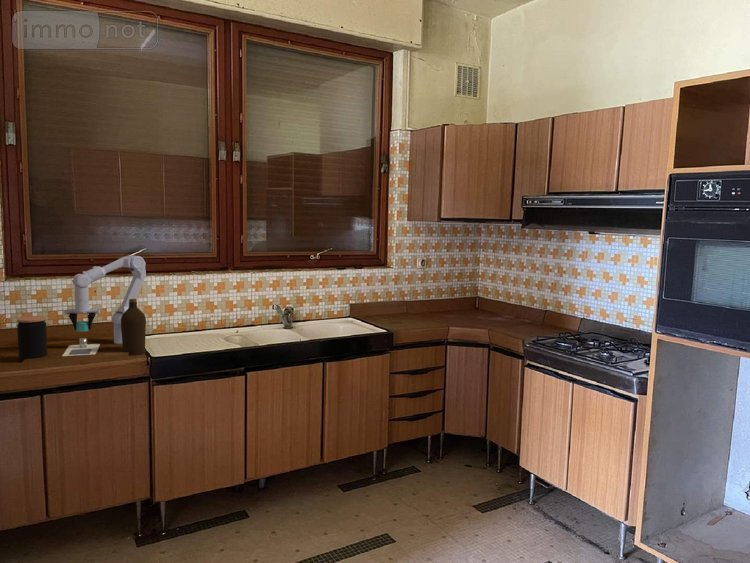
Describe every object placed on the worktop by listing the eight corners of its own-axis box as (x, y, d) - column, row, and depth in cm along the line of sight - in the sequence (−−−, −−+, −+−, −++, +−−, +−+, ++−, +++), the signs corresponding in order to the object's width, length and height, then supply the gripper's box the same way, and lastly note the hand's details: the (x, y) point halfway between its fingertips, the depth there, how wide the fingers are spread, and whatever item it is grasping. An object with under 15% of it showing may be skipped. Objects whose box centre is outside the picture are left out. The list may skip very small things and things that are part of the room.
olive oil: (133, 356, 250) (132, 301, 247) (116, 354, 254) (114, 299, 251) (151, 352, 259) (150, 298, 256) (134, 349, 263) (133, 296, 261)
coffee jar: (51, 356, 247) (50, 315, 245) (41, 362, 237) (40, 320, 235) (25, 356, 246) (23, 315, 244) (14, 362, 235) (12, 320, 233)
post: (87, 346, 261) (87, 337, 260) (86, 347, 258) (86, 339, 257) (80, 346, 259) (79, 338, 259) (79, 348, 257) (79, 339, 256)
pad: (91, 349, 255) (91, 348, 254) (89, 353, 247) (89, 352, 247) (71, 350, 252) (71, 349, 252) (69, 354, 244) (69, 353, 244)
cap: (90, 329, 261) (90, 320, 260) (87, 331, 256) (87, 322, 255) (78, 329, 260) (77, 321, 259) (75, 331, 255) (74, 323, 254)
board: (100, 346, 266) (100, 343, 266) (95, 357, 247) (95, 354, 247) (69, 348, 262) (69, 345, 261) (62, 359, 242) (62, 356, 242)
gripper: (101, 298, 262) (101, 327, 263) (66, 299, 258) (67, 328, 260) (97, 301, 255) (98, 330, 257) (62, 301, 251) (63, 331, 253)
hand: (82, 329), depth 258 cm, fingers closed on cap, 5 cm apart
